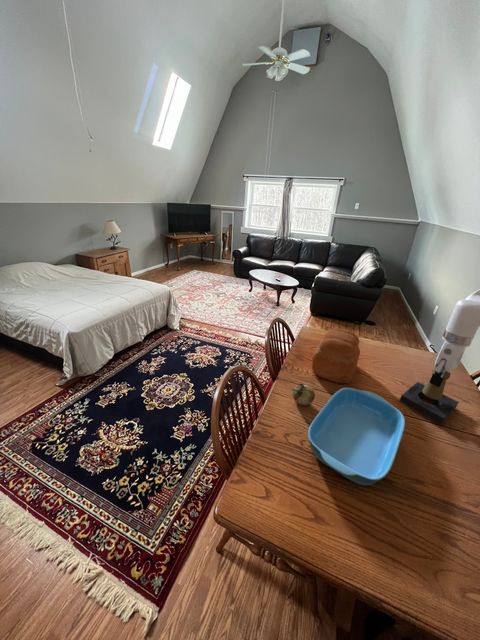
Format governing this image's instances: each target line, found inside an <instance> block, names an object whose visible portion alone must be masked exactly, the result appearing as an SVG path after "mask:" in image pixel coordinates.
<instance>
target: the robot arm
mask: <svg viewBox="0 0 480 640" xmlns="http://www.w3.org/2000/svg"><path fill="white" fill-rule="evenodd" d="M452 310H453V311H452V313H451V315H450V318H449V321H448V322H447V324H446V327H445V329H444V333H443V334H442V337H441V338H442V340H443V343H442V346H441V348H440V350H439V352H438V354H437V357H436V359H435V362H434V365H433V366H434V368H435V367H436V369H435V371H434V373H433V375H431V376H432V377H431V376H430V378H431V379H430V378H429V379H430V381H429V380H428V381H429V383H431V384H433V385H435V386H437V387H440V385H441V383H442V381H443V379H444V377H443V376H444V374H445V372H446V371H447V372H448V373H450V374H451V373H452V372H453V371H455V369H456V368H457V367H458V366H459V365H460V363H461V361H462V358H463V356H464V354H465V351H466V349H467V348H468V347H470V346H471V344H472V342H473V340H474V339H475V336H476V334H477V332H478V330H479V327H480V288H479V289H477V290H475V291H474V292H472V293H470V294H469V295H468V296H466V298H465V299H460V300H458V301H457V302H456V304H455V306H454V308H453V309H452ZM444 368H445V369H444ZM441 370H443V373H442V372H441Z"/></svg>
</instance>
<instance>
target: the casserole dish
mask: <svg viewBox="0 0 480 640" xmlns="http://www.w3.org/2000/svg"><path fill="white" fill-rule="evenodd" d="M405 426H406V420H405V416H404V414H403V413H402V412H401V411H400V410H399V409H398V408H396V407H395V406H394V405H392V404H391V403H389V402H388V401H387V399H385V398H383V397H382V396H380V395H379V394H376V393H374V392H372V391H368V390H363V389H362V390H361V389H357V388H352V387H343V388H340V389H338V390H337V391H336V392H335V393H334V394H333V395H332V396H331V397H330V399H329V400H328V401H327V403H326V404H325V405H324V406H323V407H322V408H321V410H320V411H319V412H318V414H316V416H315V417H314V419H313V420H312V422H311V423H310V425H309V427H308V431H307V436H308V441H309V445H310V449H311V450H312V453H313V454H314V456H315V457H316V459H318V460H319V461H320V462H321V463H322V464H324V465H325V466H327V467H329V468H330V469H332V470H333V471H335V472H336V473H339V474H340V475H341V476H343V477H344V478H346V479H347V480H350V481H351V482H352V483H355V484H357V485H361V486H371V485H373V484H375V483H377V482H379V481H381V480H382V479H384V478H385V477H386V476H387V475H388V474H389V473H390V471H391V469H392V467H393V465H394V462H395V459H396V457H397V454H398V450H399V447H400V444H401V441H402V438H403V435H404V431H405Z"/></svg>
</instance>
